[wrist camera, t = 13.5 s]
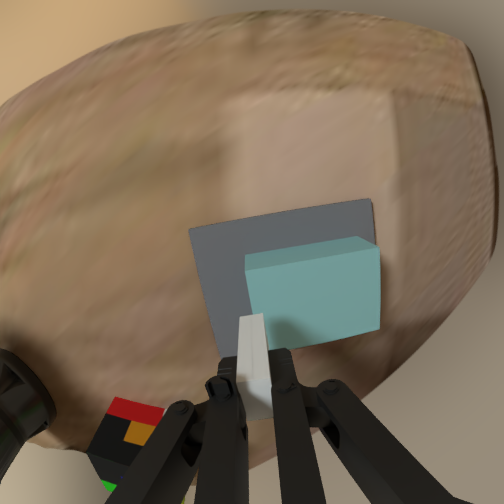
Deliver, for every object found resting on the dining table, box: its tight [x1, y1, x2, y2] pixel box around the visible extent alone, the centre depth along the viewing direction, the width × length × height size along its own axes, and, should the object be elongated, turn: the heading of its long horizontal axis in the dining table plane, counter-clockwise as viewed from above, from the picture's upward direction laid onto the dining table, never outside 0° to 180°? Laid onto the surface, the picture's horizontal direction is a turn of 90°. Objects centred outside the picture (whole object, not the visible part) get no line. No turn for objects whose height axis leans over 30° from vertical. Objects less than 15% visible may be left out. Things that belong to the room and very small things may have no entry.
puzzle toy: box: [86, 397, 185, 504], centre depth 25 cm, size 10×10×10 cm
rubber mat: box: [188, 199, 375, 359], centre depth 25 cm, size 16×13×1 cm
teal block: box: [245, 236, 380, 350], centre depth 22 cm, size 4×7×10 cm
